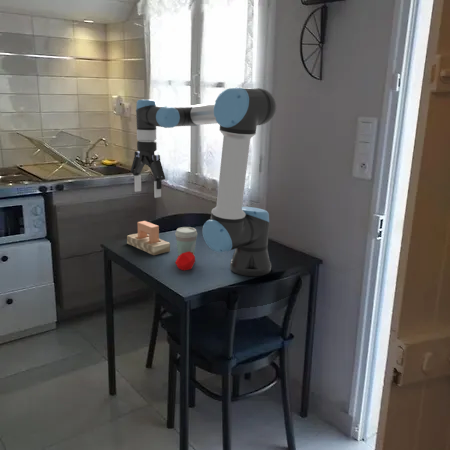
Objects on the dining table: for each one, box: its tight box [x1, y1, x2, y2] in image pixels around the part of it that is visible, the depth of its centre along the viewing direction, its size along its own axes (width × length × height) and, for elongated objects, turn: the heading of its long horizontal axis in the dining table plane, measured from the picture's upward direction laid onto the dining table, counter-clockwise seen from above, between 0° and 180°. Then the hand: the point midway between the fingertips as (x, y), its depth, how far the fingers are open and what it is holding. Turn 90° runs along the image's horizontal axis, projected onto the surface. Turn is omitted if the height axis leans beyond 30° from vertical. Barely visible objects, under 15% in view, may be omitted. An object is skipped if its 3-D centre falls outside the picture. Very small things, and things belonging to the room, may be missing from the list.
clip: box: [137, 220, 160, 244], centre depth 198 cm, size 10×4×10 cm, turn 44°
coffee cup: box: [174, 226, 198, 257], centre depth 185 cm, size 8×8×12 cm
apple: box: [175, 252, 196, 271], centre depth 177 cm, size 7×7×8 cm
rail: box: [126, 232, 171, 256], centre depth 199 cm, size 19×8×4 cm, turn 44°
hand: (147, 194), depth 193 cm, fingers open, 13 cm apart
